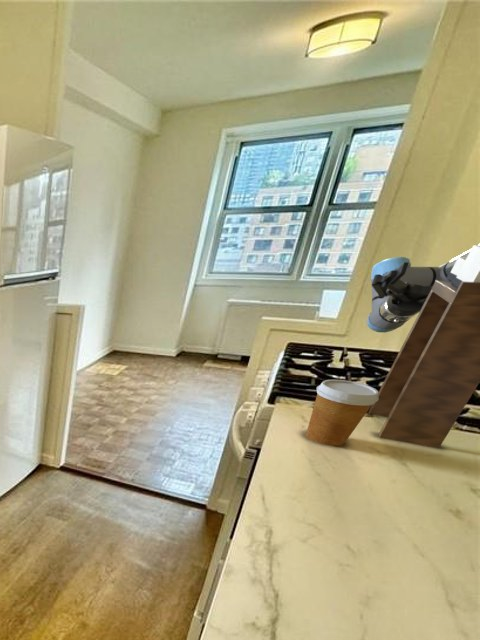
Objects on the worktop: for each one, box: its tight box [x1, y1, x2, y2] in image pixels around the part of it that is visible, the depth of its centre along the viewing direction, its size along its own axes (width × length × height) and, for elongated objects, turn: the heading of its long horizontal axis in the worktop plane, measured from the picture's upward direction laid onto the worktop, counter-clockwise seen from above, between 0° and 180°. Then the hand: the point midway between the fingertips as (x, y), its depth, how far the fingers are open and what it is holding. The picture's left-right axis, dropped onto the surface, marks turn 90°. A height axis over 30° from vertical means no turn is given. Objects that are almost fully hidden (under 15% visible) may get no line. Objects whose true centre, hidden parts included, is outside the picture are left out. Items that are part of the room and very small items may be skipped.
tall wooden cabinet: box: [368, 280, 480, 449], centre depth 98 cm, size 9×16×32 cm, turn 145°
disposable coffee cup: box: [305, 379, 379, 447], centre depth 100 cm, size 10×10×12 cm
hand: (446, 269), depth 109 cm, fingers open, 13 cm apart
